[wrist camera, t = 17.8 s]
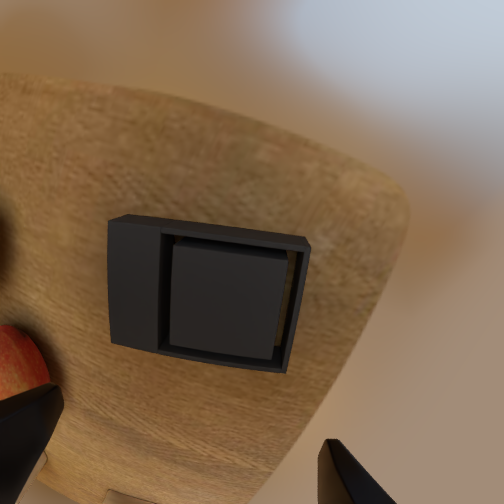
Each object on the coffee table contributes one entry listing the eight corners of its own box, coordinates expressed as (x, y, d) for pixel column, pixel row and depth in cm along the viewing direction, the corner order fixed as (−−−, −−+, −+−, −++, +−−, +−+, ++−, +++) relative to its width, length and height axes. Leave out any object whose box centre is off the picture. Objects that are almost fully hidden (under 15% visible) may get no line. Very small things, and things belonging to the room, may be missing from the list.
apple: (13, 379, 22) (-34, 424, 14) (-9, 300, 20) (-71, 338, 12) (75, 404, 21) (31, 465, 14) (56, 319, 19) (-12, 374, 12)
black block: (286, 248, 17) (288, 260, 15) (271, 338, 19) (271, 360, 16) (185, 235, 17) (172, 245, 15) (180, 324, 19) (169, 344, 16)
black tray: (305, 236, 17) (311, 247, 15) (284, 350, 19) (285, 374, 16) (127, 213, 17) (107, 220, 15) (126, 324, 19) (110, 343, 17)
